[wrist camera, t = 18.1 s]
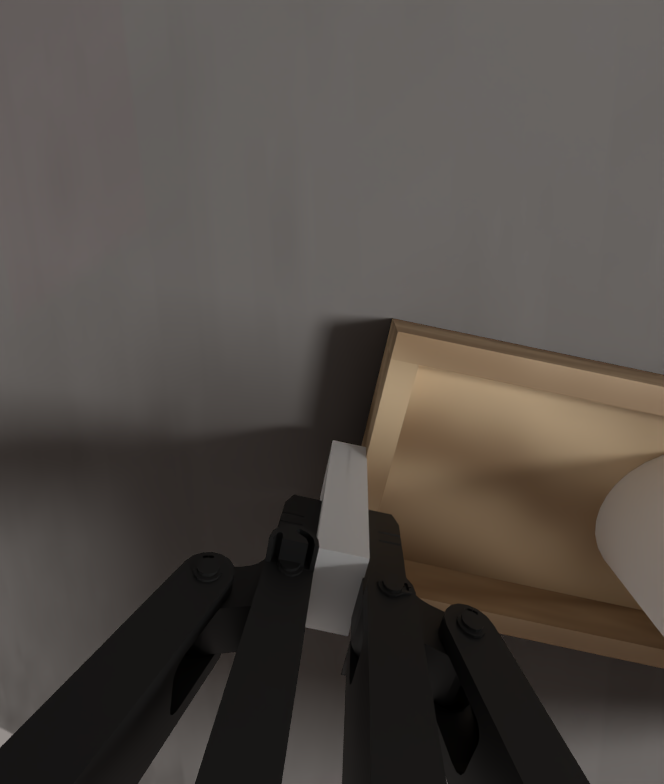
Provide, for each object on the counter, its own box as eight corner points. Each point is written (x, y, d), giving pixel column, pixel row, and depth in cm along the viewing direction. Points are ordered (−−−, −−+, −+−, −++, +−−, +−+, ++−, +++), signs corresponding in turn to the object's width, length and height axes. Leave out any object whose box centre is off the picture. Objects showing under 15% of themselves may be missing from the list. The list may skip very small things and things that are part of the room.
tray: (392, 318, 17) (398, 331, 14) (871, 418, 17) (973, 451, 14) (335, 550, 21) (331, 597, 18) (723, 633, 21) (780, 693, 18)
